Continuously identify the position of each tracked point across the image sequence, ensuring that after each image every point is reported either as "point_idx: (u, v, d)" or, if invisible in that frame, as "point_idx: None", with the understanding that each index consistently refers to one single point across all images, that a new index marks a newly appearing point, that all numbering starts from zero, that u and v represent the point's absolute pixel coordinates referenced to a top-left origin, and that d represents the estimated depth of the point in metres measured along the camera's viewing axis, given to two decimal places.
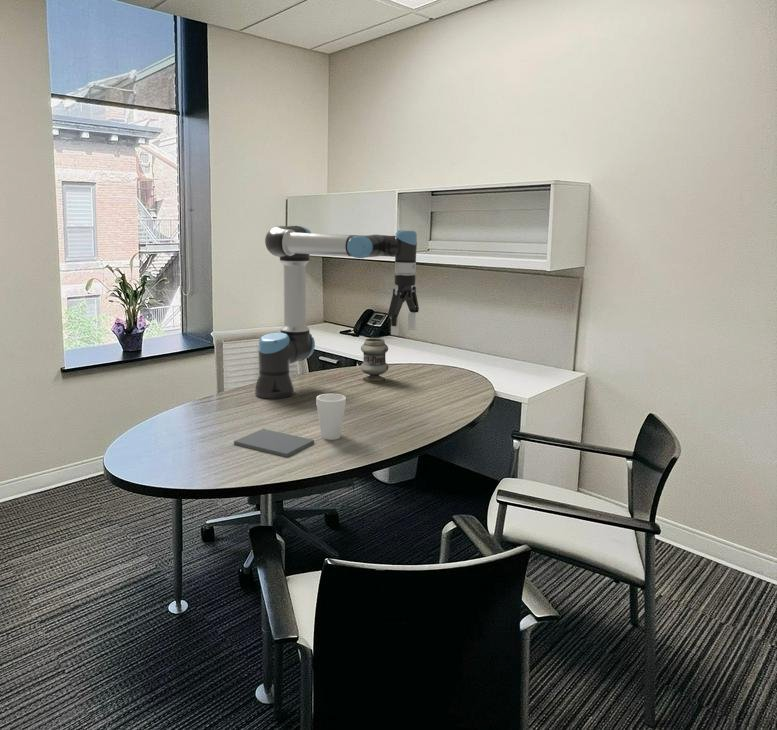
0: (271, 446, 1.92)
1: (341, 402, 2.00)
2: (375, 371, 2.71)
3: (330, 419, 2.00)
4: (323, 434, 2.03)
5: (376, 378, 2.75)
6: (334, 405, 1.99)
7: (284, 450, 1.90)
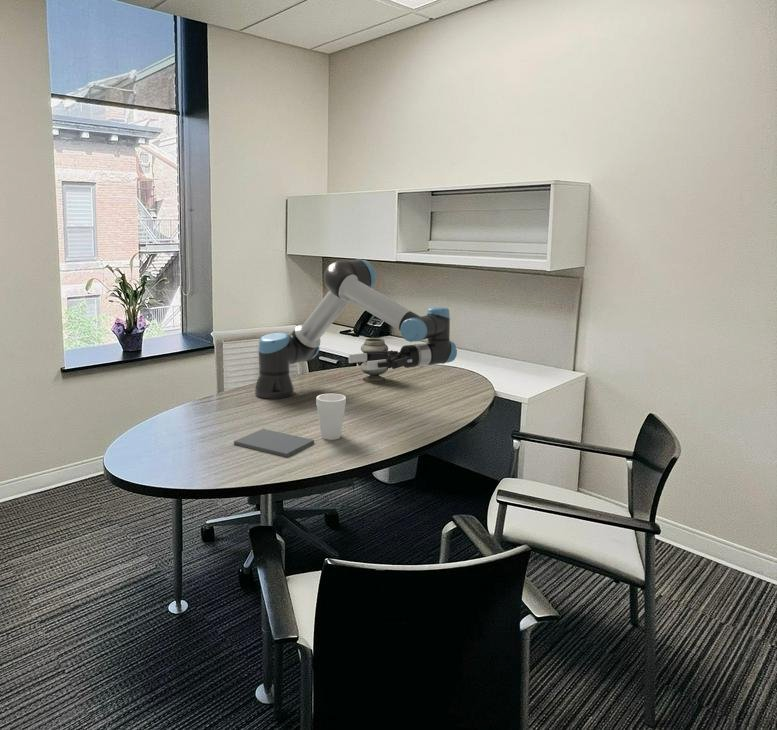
0: (271, 446, 1.92)
1: (341, 402, 2.00)
2: (375, 371, 2.71)
3: (330, 419, 2.00)
4: (323, 434, 2.03)
5: (376, 378, 2.75)
6: (334, 405, 1.99)
7: (284, 450, 1.90)
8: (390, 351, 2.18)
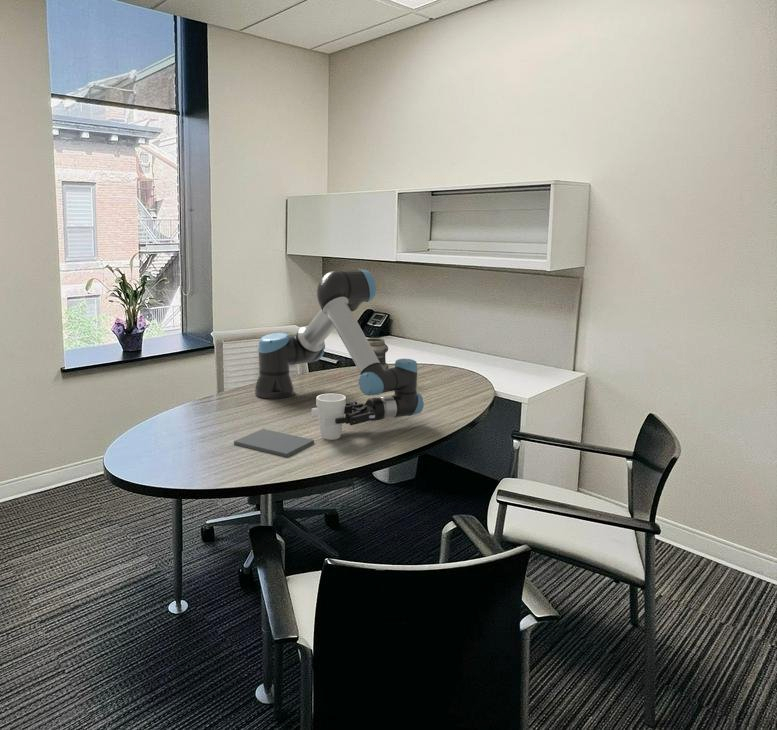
0: (271, 446, 1.92)
1: (341, 402, 2.00)
2: None
3: None
4: (323, 434, 2.03)
5: None
6: (334, 405, 1.99)
7: (284, 450, 1.90)
8: (354, 403, 2.14)
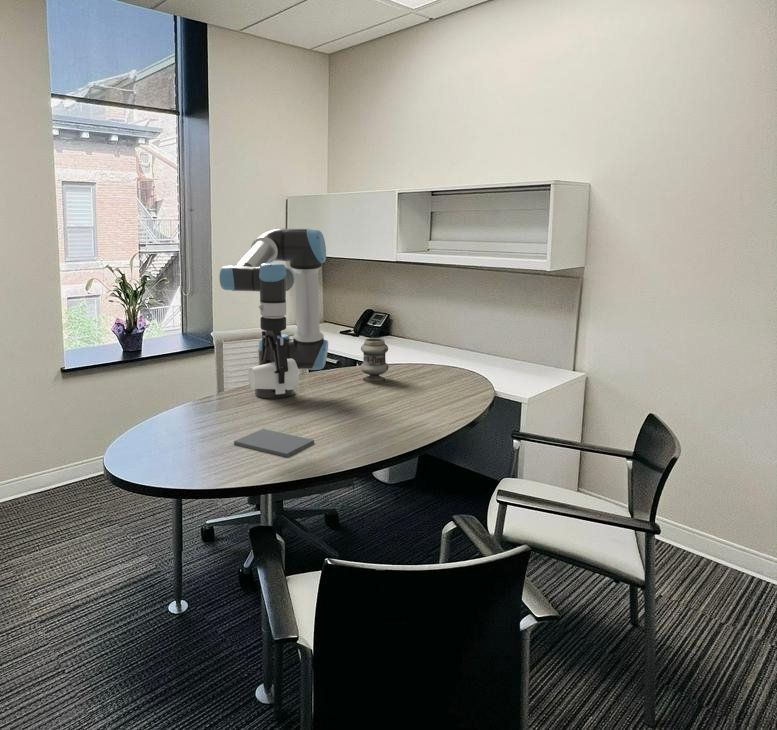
0: (271, 446, 1.92)
1: None
2: (375, 371, 2.71)
3: None
4: None
5: (376, 378, 2.75)
6: None
7: (284, 450, 1.90)
8: None
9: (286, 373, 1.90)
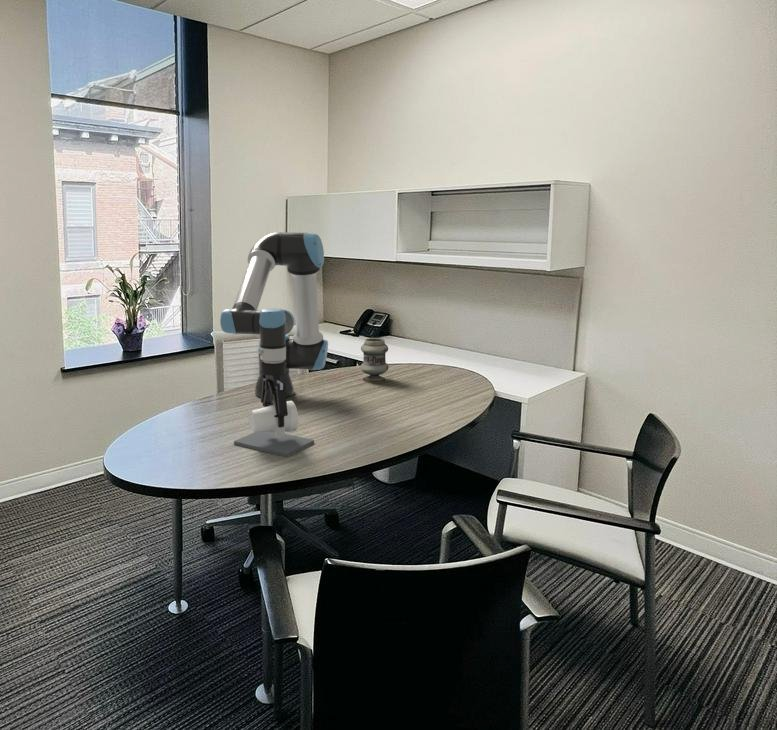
0: (271, 446, 1.92)
1: None
2: (375, 371, 2.71)
3: None
4: None
5: (376, 378, 2.75)
6: None
7: (284, 450, 1.90)
8: None
9: (286, 416, 1.93)
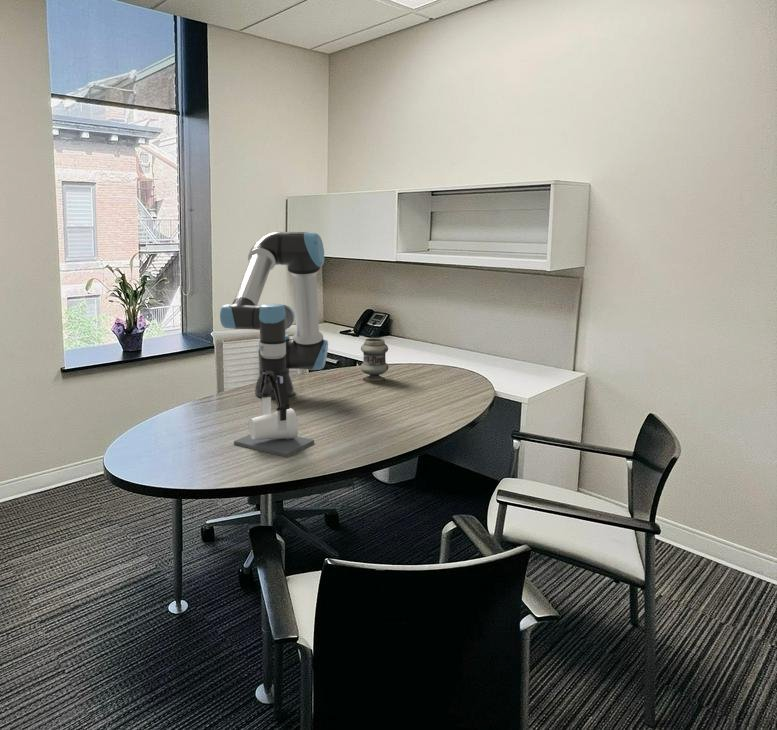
0: (271, 446, 1.92)
1: None
2: (375, 371, 2.71)
3: None
4: None
5: (376, 378, 2.75)
6: None
7: (284, 450, 1.90)
8: None
9: None
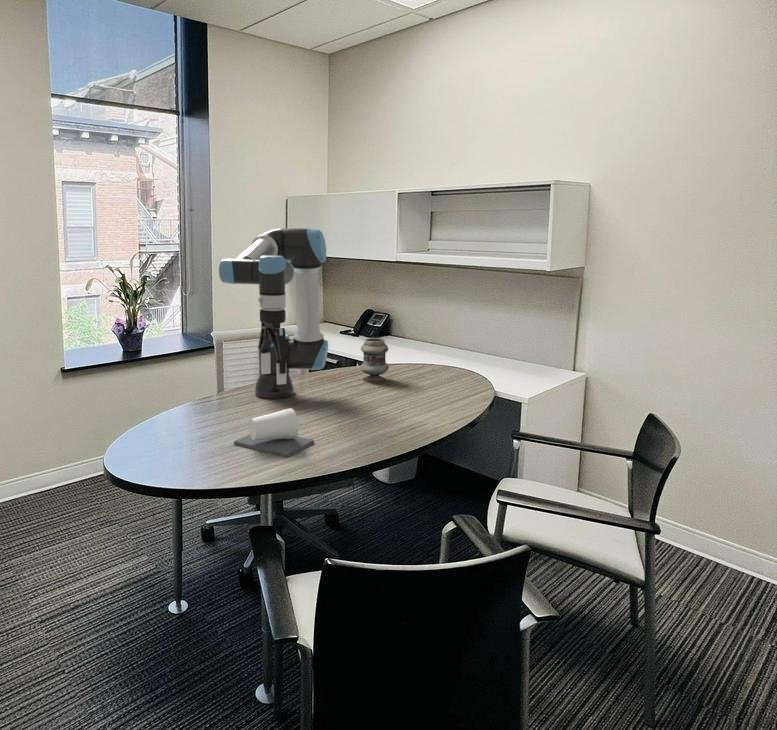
0: (271, 446, 1.92)
1: None
2: (375, 371, 2.71)
3: None
4: None
5: (376, 378, 2.75)
6: None
7: (284, 450, 1.90)
8: None
9: (286, 424, 1.94)
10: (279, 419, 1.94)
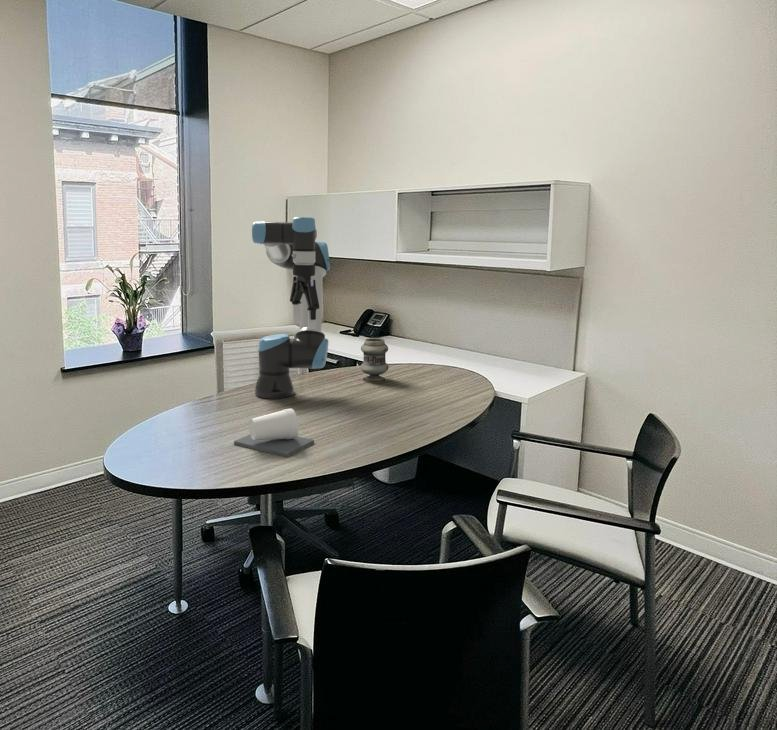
0: (271, 446, 1.92)
1: None
2: (375, 371, 2.71)
3: None
4: None
5: (376, 378, 2.75)
6: None
7: (284, 450, 1.90)
8: None
9: (286, 424, 1.94)
10: (279, 419, 1.94)
